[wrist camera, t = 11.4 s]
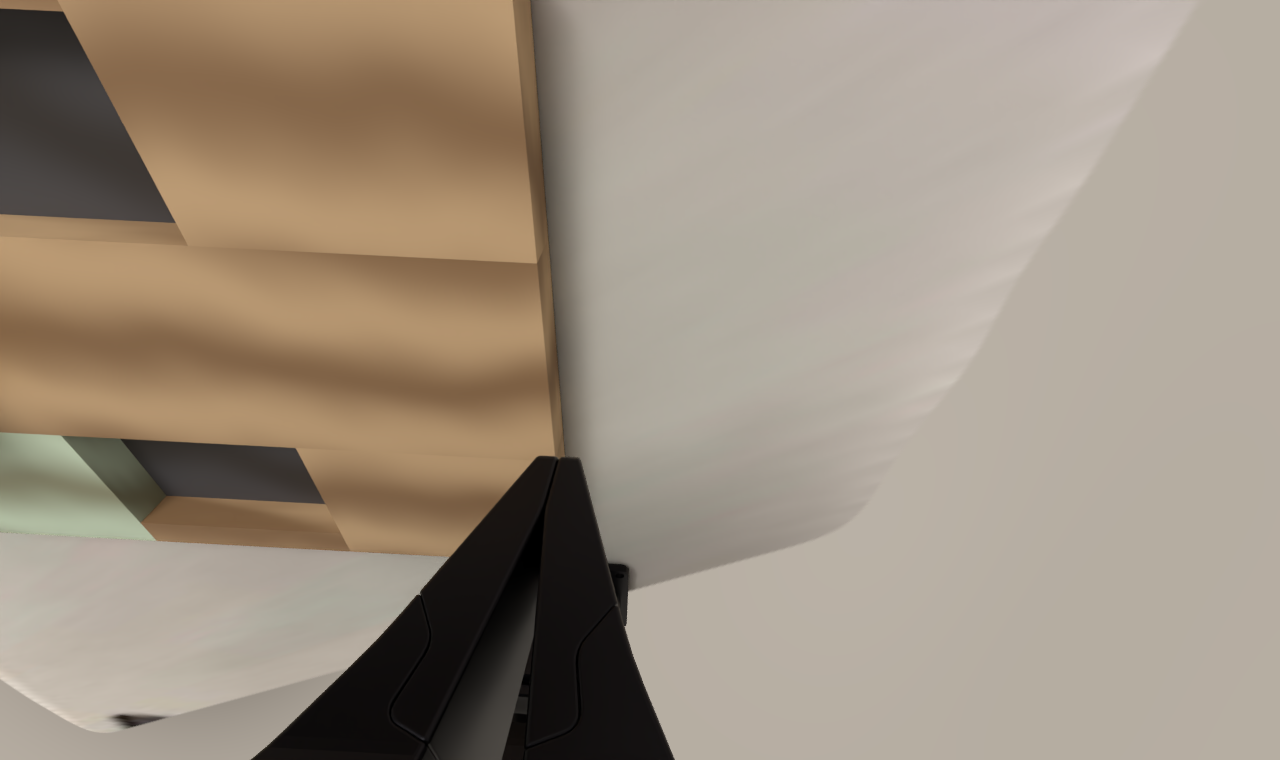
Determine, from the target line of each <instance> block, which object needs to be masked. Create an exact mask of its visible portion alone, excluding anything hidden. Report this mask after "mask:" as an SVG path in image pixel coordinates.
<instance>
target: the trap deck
mask: <svg viewBox="0 0 1280 760" xmlns="http://www.w3.org/2000/svg"><path fill="white" fill-rule="evenodd" d="M537 456H556V457H558V458H559V459H560V457H565V451H564V438H563V424H562V411H561V398H560V385H559V372H558V359H557V345H556V332H555V319H554V306H553V293H552V280H551V267H550V253H549V240H548V227H547V214H546V201H545V188H544V174H543V161H542V148H541V135H540V122H539V109H538V95H537V82H536V69H535V56H534V43H533V30H532V16H531V3H530V0H0V532H2V533H20V534H39V535H57V536H76V537H94V538H113V539H131V540H150V541H168V542H187V543H206V544H224V545H243V546H261V547H280V548H298V549H317V550H335V551H354V552H372V553H391V554H409V555H428V556H446V557H450V556H451V555H452V554H453V553H454V552H455V550H456V549H457V548H458V547H459V546H460V545H461V544H462V542H463V541H464V540H465V539H466V538H467V537H468V535H469V534H470V533H471V532H472V531H473V530H474V529H475V527H476V526H477V525H478V524H479V523H480V522H481V520H482V519H483V518H484V517H485V516H486V515H487V513H488V512H489V511H490V510H491V509H492V508H493V507H494V505H495V504H496V503H497V502H498V501H499V500H500V498H501V497H502V496H503V495H504V494H505V493H506V491H507V490H508V489H509V488H510V487H511V486H512V485H513V483H514V482H515V481H516V480H517V479H518V478H519V476H520V475H521V474H522V473H523V472H524V471H525V470H526V468H527V467H528V466H529V465H530V464H531V463H532V461H533V460H534V459H535V458H536V457H537Z"/></svg>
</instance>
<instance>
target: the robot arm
mask: <svg viewBox="0 0 1280 760" xmlns="http://www.w3.org/2000/svg"><path fill="white" fill-rule="evenodd" d="M628 577H629V569H628V567H626V566H624V565H617V564H608V563H607V559H606V555H605V551H604V547H603V543H602V540H601V536H600V532H599V528H598V524H597V520H596V517H595V513H594V509H593V505H592V501H591V497H590V493H589V490H588V486H587V482H586V478H585V474H584V470H583V467H582V463H581V460H580V458H577V457H560V459H559V458H558V457H556V456H537V457H536V458H535V459H534V460H533V461H532V463H531V464H530V465H529V466H528V467H527V468H526V470H525V471H524V472H523V473H522V474H521V475H520V476H519V478H518V479H517V480H516V481H515V482H514V483H513V485H512V486H511V487H510V488H509V489H508V490H507V491H506V493H505V494H504V495H503V496H502V497H501V498H500V500H499V501H498V502H497V503H496V504H495V505H494V507H493V508H492V509H491V510H490V511H489V512H488V513H487V515H486V516H485V517H484V518H483V519H482V520H481V522H480V523H479V524H478V525H477V526H476V527H475V529H474V530H473V531H472V532H471V533H470V534H469V535H468V537H467V538H466V539H465V540H464V541H463V542H462V544H461V545H460V546H459V547H458V548H457V549H456V550H455V552H454V553H453V554H452V555H451V556H450V557H449V559H448V560H447V561H446V562H445V563H444V564H443V566H442V567H441V568H440V569H439V570H438V571H437V572H436V574H435V575H434V576H433V577H432V578H431V579H430V581H429V582H428V583H427V584H426V585H425V586H424V588H423V589H422V590H421V591H420V595H421V596H420V595H416V596H415V598H414V599H413V600H412V601H411V602H410V603H409V605H408V606H407V607H406V608H405V609H404V610H403V612H402V613H401V614H400V615H399V616H398V617H397V618H396V619H395V620H394V622H393V623H392V624H391V625H390V626H389V627H388V628H387V629H386V630H385V631H384V633H383V634H382V635H381V636H380V637H379V638H378V639H377V640H376V641H375V642H374V643H373V644H372V645H371V646H370V647H369V648H368V649H367V650H366V651H365V652H364V653H363V654H362V655H361V656H360V657H359V658H358V659H357V660H356V661H355V662H354V663H353V664H352V665H351V666H350V667H349V668H348V669H347V670H346V671H345V672H344V673H343V674H342V675H341V676H340V677H339V678H338V679H337V680H336V681H335V682H334V683H333V684H332V685H330V686H329V687H328V688H327V689H326V690H325V692H323V693H322V694H321V695H320V696H319V697H318V698H317V699H316V700H315V701H314V702H313V703H312V704H311V705H310V706H309V707H308V708H307V709H306V710H305V711H303V712H302V713H301V714H300V715H299V717H297V718H296V719H295V720H294V721H293V722H292V723H291V724H290V725H289V726H288V727H287V728H286V729H285V730H284V731H283V732H282V733H281V734H280V735H279V736H278V737H277V738H275V739H274V740H273V741H272V742H271V743H270V744H269V745H268V746H267V747H265V748H264V749H263V750H262V751H261V752H259V753H258V754H257V755H256V756H255V757H254V758H252V759H251V760H675V759H674V757H673V754H672V752H671V750H670V747H669V745H668V742H667V740H666V737H665V735H664V733H663V730H662V728H661V725H660V723H659V720H658V718H657V716H656V713H655V711H654V708H653V706H652V703H651V701H650V699H649V696H648V694H647V691H646V689H645V686H644V684H643V681H642V678H641V676H640V673H639V670H638V668H637V665H636V662H635V660H634V657H633V654H632V651H631V647H630V644H629V641H628V638H627V634H626V631H625V627H624V626H626V623H627V622H626V621H627V599H628Z"/></svg>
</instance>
